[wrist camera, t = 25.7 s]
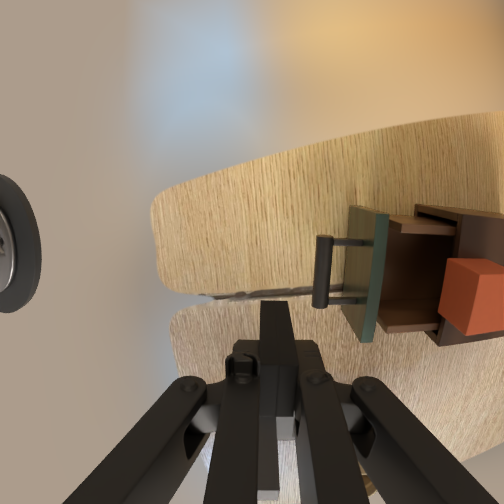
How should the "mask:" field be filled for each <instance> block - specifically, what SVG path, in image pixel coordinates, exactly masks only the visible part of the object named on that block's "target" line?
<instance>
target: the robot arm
mask: <svg viewBox="0 0 504 504" xmlns="http://www.w3.org/2000/svg"><path fill="white" fill-rule="evenodd" d="M17 262H18V254H17V244H16V238H15V234H14V230H13V227H12V224H11V222H10V220H9V218H8V216H7V214H6V212H5V211H4V209H3V208H2V207H1V206H0V292H2V291H4V290H6V289H7V288H8V287H9V286H10V285H11V284H12V282H13V280H14V277H15V274H16V270H17ZM225 368H226V378H225V379H224V380H222V381H220V382H218V383H213V384H206V382H205V381H204V380H203V379H202V378H199V377H196V376H183V377H180V378H178V379H177V380H175V381H174V382H173V383H172V384H171V385H170V386H169V387H168V389H167V390H166V391H165V392H164V393H163V394H162V395H161V396H160V398H159V399H158V400H157V401H156V402H155V403H154V405H153V406H152V407H151V408H150V409H149V410H148V411H147V412H146V413H145V414H144V416H143V417H142V418H141V419H140V420H139V421H138V422H137V423H136V424H135V426H134V427H133V428H132V429H131V430H130V431H129V432H128V433H127V435H126V436H125V437H124V438H123V439H122V440H121V441H120V442H119V443H118V444H117V445H116V447H115V448H114V449H113V450H112V451H111V452H110V453H109V454H108V455H107V456H106V457H105V459H104V460H103V461H102V462H101V463H100V464H99V465H98V466H97V467H96V468H95V469H94V470H93V471H92V473H91V474H90V475H89V476H88V477H87V478H86V479H85V480H84V481H83V482H82V484H80V485H79V486H78V488H77V489H76V490H75V491H74V492H73V493H72V494H71V495H70V496H69V497H68V498H67V499H66V500H65V501H64V502H63V504H169V502H170V500H171V499H172V497H173V496H174V494H175V492H176V491H177V489H178V488H179V486H180V484H181V483H182V481H183V480H184V478H185V476H186V475H187V473H188V471H189V470H190V468H191V466H192V465H193V463H194V462H195V460H196V458H197V457H198V455H199V453H200V452H201V450H202V448H203V446H204V445H205V443H206V441H207V440H208V438H209V436H210V432H216V434H215V439H214V445H213V451H212V456H211V462H210V467H209V473H208V479H207V484H206V490H205V495H204V501H203V504H257V492H258V452H259V417H293V415H294V413H295V419H294V426H293V433H292V437H295V443H296V454H297V464H298V475H299V486H300V498H301V504H370V503H369V499H368V495H367V491H366V488H365V484H364V480H363V477H362V473H361V470H360V466H359V463H360V465H361V466H362V468H363V469H364V471H365V473H366V474H367V476H368V477H369V479H370V480H371V482H372V483H373V485H374V486H375V488H376V489H377V491H378V492H379V494H380V495H381V497H382V498H383V500H384V501H385V503H386V504H499V503H498V502H497V501H496V500H495V499H494V498H493V497H492V496H491V495H490V494H489V493H488V492H487V491H486V490H485V489H484V487H483V486H482V485H481V484H480V483H479V482H478V481H477V480H476V479H475V478H474V477H473V476H472V475H471V474H470V473H469V472H468V471H467V470H466V469H465V468H464V466H463V465H461V463H460V462H459V461H458V460H457V459H456V458H455V457H454V456H453V455H452V454H451V453H450V452H449V451H448V450H447V449H446V448H445V447H444V446H443V445H442V444H441V442H440V441H439V440H438V439H437V438H436V437H435V436H434V435H433V434H432V433H431V432H430V431H429V430H428V429H427V428H426V427H425V426H424V425H423V424H422V423H421V422H420V421H419V420H418V419H417V417H416V416H415V415H414V414H413V413H412V412H411V411H410V410H409V409H408V408H407V407H406V406H405V405H404V404H403V403H402V402H401V401H400V400H399V399H398V398H397V397H396V396H395V395H394V394H393V393H392V391H391V390H390V389H389V388H388V387H387V386H386V385H385V384H384V383H383V382H382V381H380V380H379V379H377V378H374V377H369V376H363V377H359V378H356V379H355V380H354V381H353V383H352V385H348V384H342V383H338V382H335V381H334V380H333V377H332V376H331V374H329V373H328V372H326V371H325V367H324V364H323V361H322V357H321V354H320V352H319V348H318V345H317V344H316V343H315V342H314V341H313V340H295V338H294V333H293V328H292V323H291V317H290V312H289V307H288V302H287V301H265V300H261V306H260V340H238V341H237V342H236V343H235V344H234V346H233V352H232V354H230V355H229V356H227V358H226V359H225ZM358 462H359V463H358Z"/></svg>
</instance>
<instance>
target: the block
mask: <svg viewBox="0 0 504 504" xmlns="http://www.w3.org/2000/svg"><path fill="white" fill-rule="evenodd" d="M438 313H439V314H441V315H442V316H443V317H444V318H445V319H447V320H448V321H449V322H450V323H451V324H452V325H454V326H455V327H456V328H457V329H458V330H459V331H461V332H462V333H463V334H464V335H465V336H469V335H476V334H482V333H488V332H495V331H500V330H504V267H503V266H501V265H499V264H497V263H494V262H492V261H490V260H488V259H471V258H447V264H446V270H445V276H444V282H443V287H442V293H441V298H440V303H439V307H438Z"/></svg>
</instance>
